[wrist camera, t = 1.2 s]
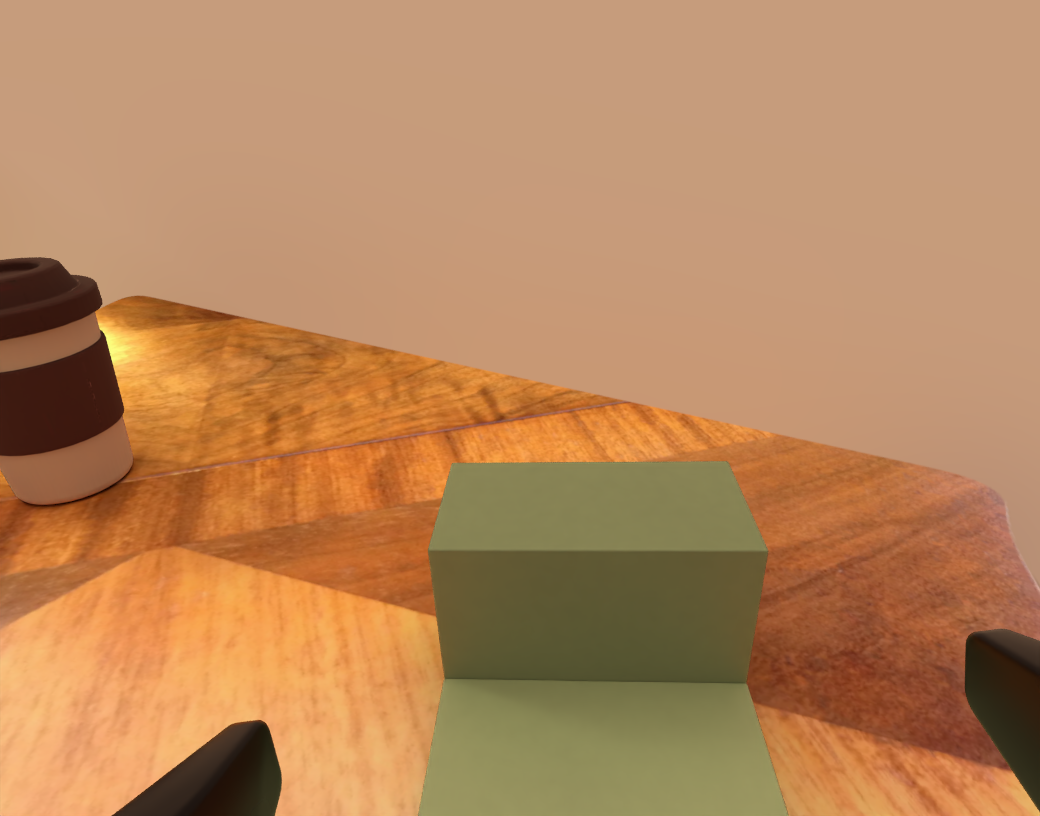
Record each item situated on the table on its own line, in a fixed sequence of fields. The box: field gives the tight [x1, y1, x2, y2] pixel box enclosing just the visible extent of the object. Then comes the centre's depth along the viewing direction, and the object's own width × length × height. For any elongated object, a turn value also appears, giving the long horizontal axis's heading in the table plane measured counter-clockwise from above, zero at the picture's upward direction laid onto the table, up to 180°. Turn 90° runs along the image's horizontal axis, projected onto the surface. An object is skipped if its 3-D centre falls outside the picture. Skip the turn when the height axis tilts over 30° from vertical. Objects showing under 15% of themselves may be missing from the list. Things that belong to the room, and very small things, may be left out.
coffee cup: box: [0, 257, 133, 505], centre depth 43 cm, size 10×10×15 cm
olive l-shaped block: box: [418, 461, 789, 816], centre depth 22 cm, size 18×12×9 cm, turn 177°
